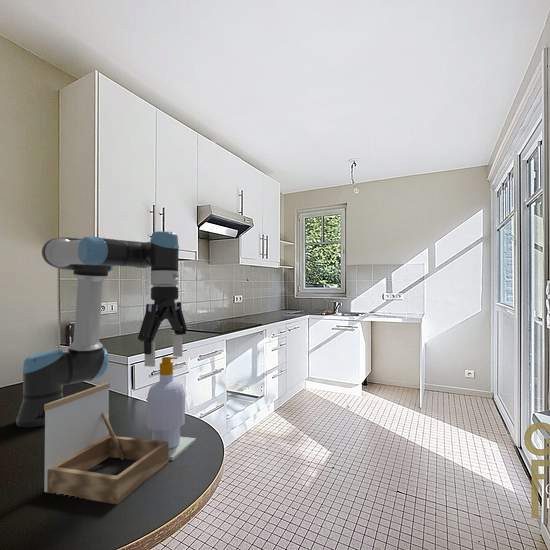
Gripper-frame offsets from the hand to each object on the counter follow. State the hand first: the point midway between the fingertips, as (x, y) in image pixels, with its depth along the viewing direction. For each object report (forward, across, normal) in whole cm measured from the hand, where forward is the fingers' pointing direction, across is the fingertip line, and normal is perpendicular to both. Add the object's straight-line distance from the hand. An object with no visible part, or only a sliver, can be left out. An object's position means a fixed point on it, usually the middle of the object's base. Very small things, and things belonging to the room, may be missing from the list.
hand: (164, 361), depth 98 cm
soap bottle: (+23, 0, -1) cm, 23 cm away
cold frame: (+24, -16, +3) cm, 29 cm away
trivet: (+24, 0, -1) cm, 24 cm away
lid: (+24, -16, +13) cm, 32 cm away
